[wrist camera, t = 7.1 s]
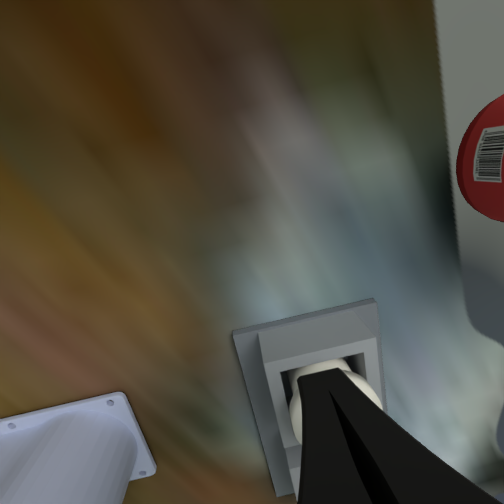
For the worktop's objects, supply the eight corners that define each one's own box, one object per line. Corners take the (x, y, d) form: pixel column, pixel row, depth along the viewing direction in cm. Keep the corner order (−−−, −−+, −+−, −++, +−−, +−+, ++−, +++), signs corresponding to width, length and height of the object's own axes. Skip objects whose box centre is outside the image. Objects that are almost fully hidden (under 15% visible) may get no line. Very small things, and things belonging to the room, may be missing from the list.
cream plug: (286, 403, 21) (301, 463, 16) (273, 344, 19) (285, 395, 15) (354, 387, 21) (385, 443, 17) (346, 327, 19) (378, 373, 15)
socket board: (275, 489, 25) (283, 545, 21) (232, 330, 20) (233, 367, 16) (388, 462, 25) (416, 513, 21) (372, 298, 20) (404, 327, 16)
